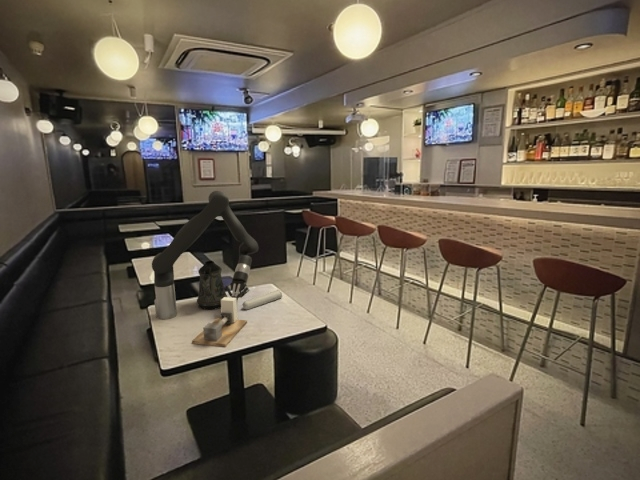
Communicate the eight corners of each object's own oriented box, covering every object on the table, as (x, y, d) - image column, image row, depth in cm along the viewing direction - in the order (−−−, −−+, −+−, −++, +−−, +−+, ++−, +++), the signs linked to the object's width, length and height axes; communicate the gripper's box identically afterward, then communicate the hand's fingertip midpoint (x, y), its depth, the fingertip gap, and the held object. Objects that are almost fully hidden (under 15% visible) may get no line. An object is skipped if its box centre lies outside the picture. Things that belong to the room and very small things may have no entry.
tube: (246, 305, 190) (282, 292, 207) (241, 299, 193) (277, 288, 210) (245, 313, 192) (281, 300, 209) (240, 307, 195) (275, 295, 212)
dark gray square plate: (221, 323, 172) (220, 313, 171) (222, 322, 174) (221, 312, 172) (231, 324, 172) (230, 314, 170) (232, 323, 173) (231, 313, 172)
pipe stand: (192, 343, 157) (191, 328, 156) (217, 320, 180) (216, 306, 179) (226, 346, 154) (225, 331, 153) (247, 322, 177) (246, 309, 176)
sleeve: (222, 321, 175) (220, 300, 172) (225, 318, 178) (224, 297, 176) (234, 322, 173) (233, 300, 171) (237, 319, 177) (236, 297, 175)
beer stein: (222, 296, 211) (220, 256, 206) (233, 308, 195) (231, 264, 190) (194, 302, 203) (190, 260, 198) (202, 314, 187) (199, 269, 182)
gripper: (227, 269, 186) (218, 300, 177) (251, 271, 184) (243, 302, 175) (232, 276, 193) (223, 306, 183) (255, 277, 190) (247, 308, 181)
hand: (233, 304), depth 179 cm, fingers closed
